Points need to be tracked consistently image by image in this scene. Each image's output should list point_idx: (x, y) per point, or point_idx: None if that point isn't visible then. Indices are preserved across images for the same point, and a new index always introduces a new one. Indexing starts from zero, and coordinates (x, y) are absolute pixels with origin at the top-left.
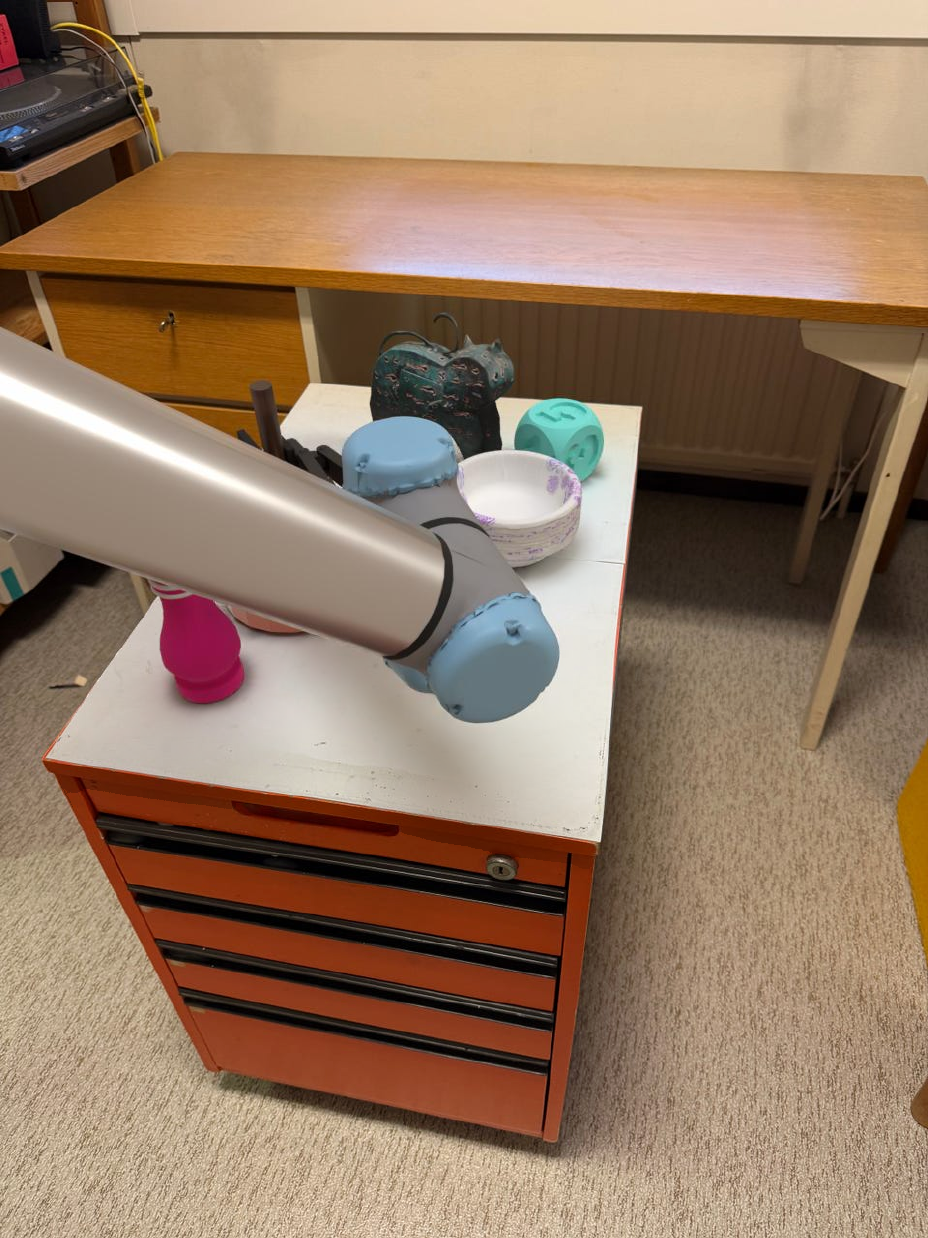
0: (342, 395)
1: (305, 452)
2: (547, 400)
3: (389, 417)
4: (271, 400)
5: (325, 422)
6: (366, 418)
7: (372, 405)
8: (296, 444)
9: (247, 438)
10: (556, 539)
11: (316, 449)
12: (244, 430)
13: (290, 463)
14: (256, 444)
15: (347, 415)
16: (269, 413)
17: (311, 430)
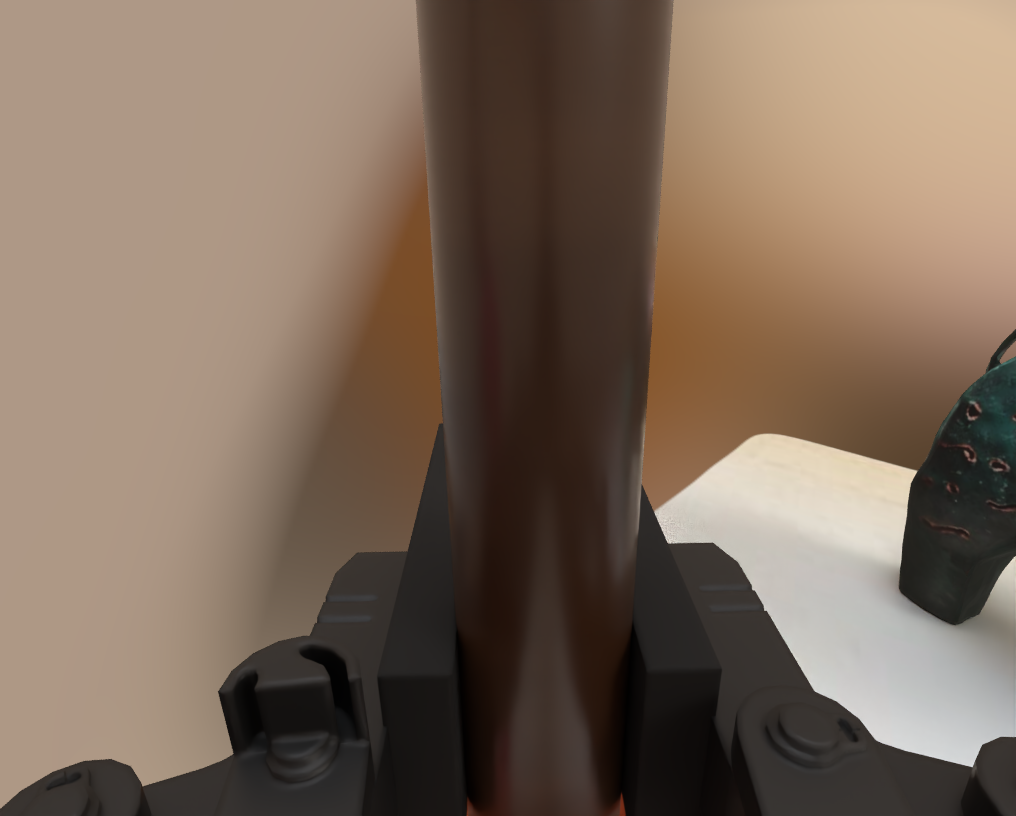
0: (804, 454)
1: (841, 780)
2: None
3: (980, 530)
4: (617, 62)
5: (765, 493)
6: (857, 509)
7: (923, 486)
8: (738, 608)
9: None
10: None
11: (983, 790)
12: None
13: (647, 773)
14: None
15: (813, 492)
16: (551, 234)
17: (733, 501)
